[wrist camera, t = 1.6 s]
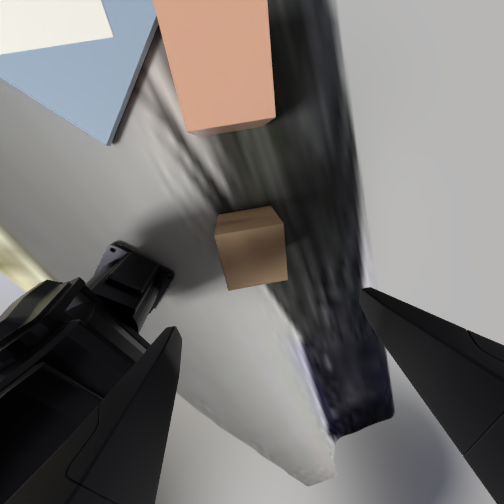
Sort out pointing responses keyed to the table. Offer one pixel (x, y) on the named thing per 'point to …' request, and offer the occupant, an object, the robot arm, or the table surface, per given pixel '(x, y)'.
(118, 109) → the board
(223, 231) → the walnut block
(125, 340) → the robot arm
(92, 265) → the table surface
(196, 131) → the terracotta block
